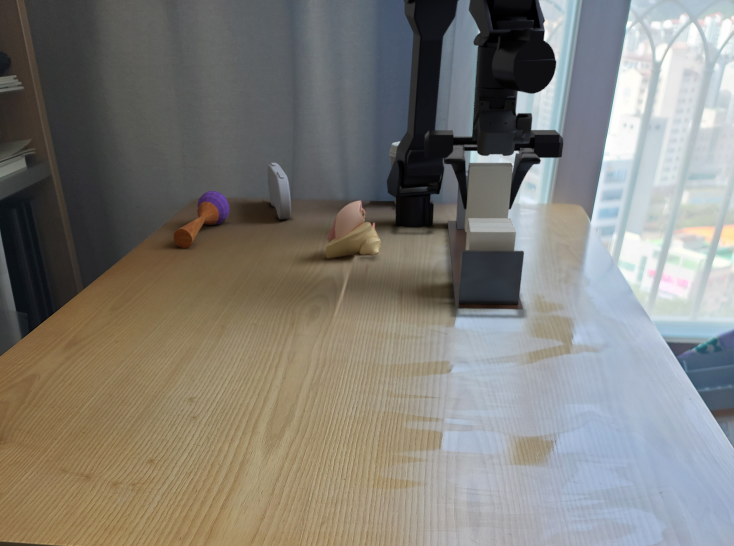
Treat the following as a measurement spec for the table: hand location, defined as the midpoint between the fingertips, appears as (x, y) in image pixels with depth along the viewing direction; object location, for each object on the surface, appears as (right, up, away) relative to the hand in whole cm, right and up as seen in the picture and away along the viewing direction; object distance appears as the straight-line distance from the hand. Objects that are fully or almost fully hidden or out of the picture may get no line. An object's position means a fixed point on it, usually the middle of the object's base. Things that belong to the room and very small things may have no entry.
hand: (486, 208), depth 109 cm
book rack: (+1, -4, +12) cm, 12 cm away
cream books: (-1, -13, -3) cm, 13 cm away
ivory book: (0, -3, +2) cm, 3 cm away
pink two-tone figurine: (-20, -2, +16) cm, 26 cm away
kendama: (-47, +7, +29) cm, 56 cm away
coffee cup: (-8, +17, +44) cm, 48 cm away
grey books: (+2, +8, +28) cm, 29 cm away
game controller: (-35, +16, +43) cm, 57 cm away
